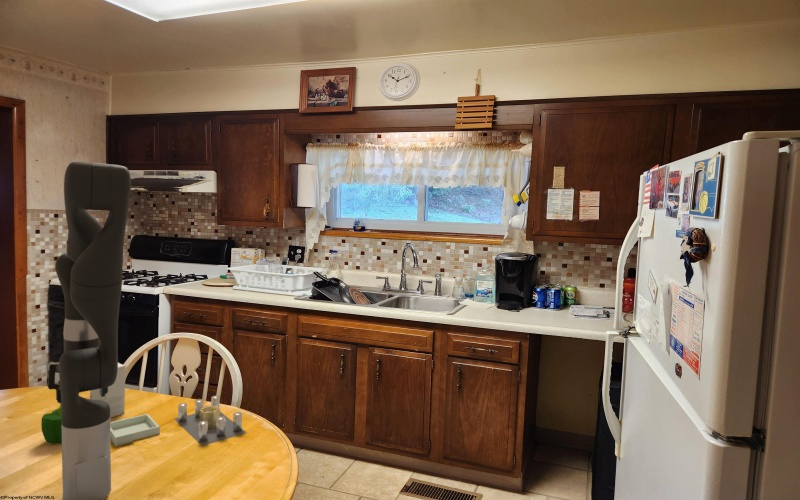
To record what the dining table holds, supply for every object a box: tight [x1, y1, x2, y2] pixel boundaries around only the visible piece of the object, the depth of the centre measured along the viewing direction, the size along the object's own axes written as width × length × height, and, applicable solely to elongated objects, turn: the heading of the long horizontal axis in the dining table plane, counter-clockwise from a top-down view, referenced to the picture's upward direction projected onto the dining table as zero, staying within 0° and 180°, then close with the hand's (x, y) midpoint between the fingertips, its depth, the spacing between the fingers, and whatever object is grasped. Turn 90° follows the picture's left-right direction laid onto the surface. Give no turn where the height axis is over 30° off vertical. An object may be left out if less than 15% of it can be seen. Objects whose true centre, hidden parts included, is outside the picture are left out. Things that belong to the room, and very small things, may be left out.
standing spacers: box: [177, 395, 243, 442], centre depth 148 cm, size 18×12×5 cm
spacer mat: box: [174, 411, 247, 447], centre depth 149 cm, size 22×13×1 cm, turn 43°
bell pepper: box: [40, 404, 62, 445], centre depth 137 cm, size 8×8×10 cm
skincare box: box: [89, 362, 126, 419], centre depth 155 cm, size 8×7×16 cm
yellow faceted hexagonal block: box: [199, 405, 221, 429], centre depth 148 cm, size 6×5×5 cm
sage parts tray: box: [110, 413, 161, 447], centre depth 143 cm, size 11×11×2 cm
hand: (82, 399), depth 123 cm, fingers open, 8 cm apart
